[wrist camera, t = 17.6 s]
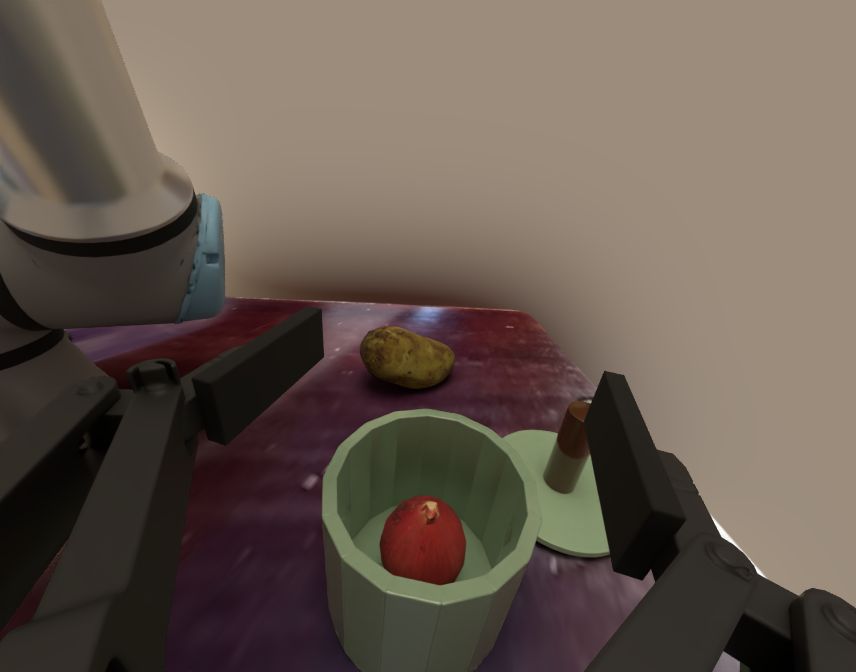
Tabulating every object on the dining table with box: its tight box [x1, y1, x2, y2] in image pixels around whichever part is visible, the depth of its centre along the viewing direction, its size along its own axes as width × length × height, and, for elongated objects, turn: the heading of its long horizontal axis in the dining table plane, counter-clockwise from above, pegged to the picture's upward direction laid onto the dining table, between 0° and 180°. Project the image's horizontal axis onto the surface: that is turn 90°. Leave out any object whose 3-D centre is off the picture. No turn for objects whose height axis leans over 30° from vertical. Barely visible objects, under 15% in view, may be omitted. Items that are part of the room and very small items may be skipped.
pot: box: [322, 409, 542, 672], centre depth 23 cm, size 13×13×10 cm
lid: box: [502, 401, 610, 557], centre depth 31 cm, size 14×14×10 cm
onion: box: [379, 495, 466, 586], centre depth 23 cm, size 6×6×8 cm
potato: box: [360, 326, 455, 389], centre depth 45 cm, size 8×13×8 cm, turn 94°
